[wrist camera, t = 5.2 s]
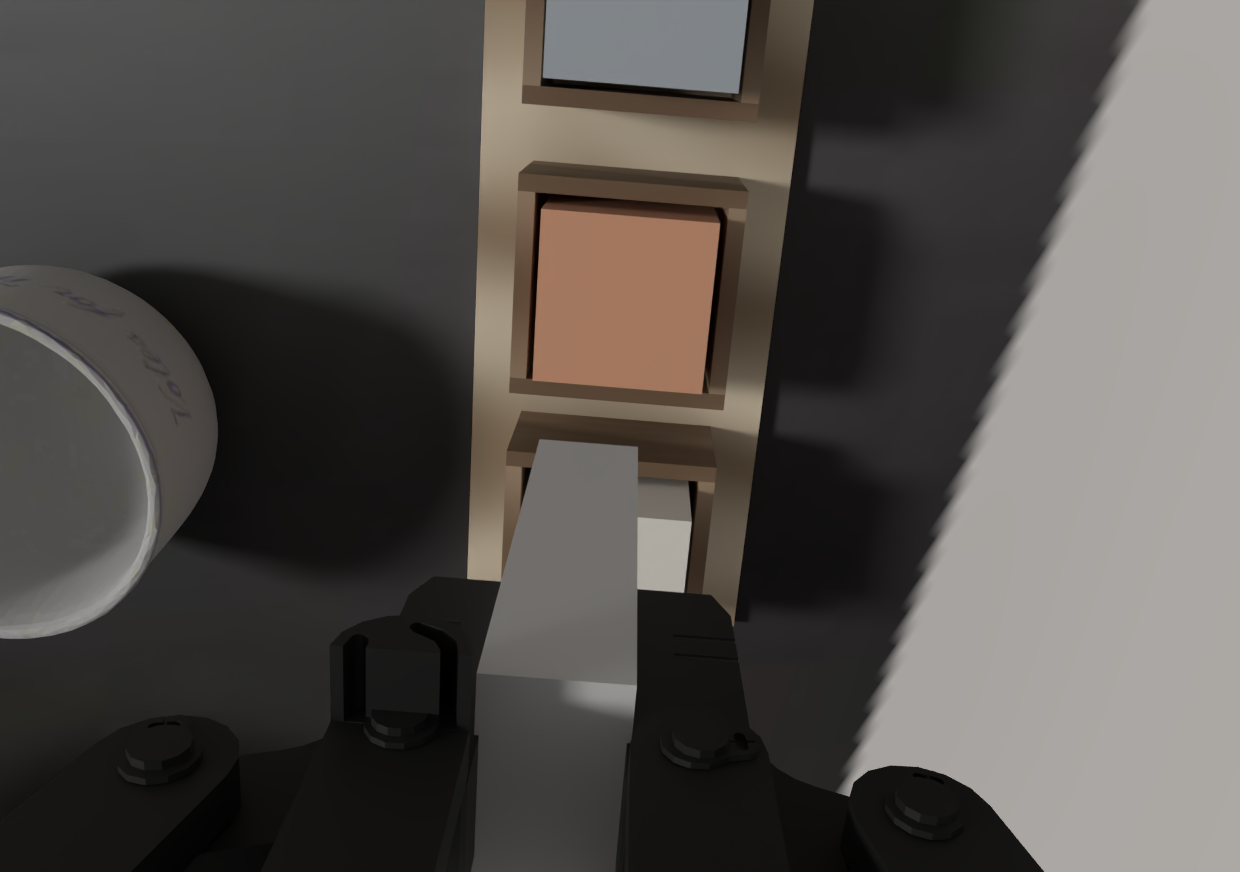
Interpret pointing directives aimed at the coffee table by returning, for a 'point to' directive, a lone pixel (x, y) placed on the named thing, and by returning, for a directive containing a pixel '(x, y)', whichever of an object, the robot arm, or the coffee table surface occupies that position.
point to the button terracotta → (624, 293)
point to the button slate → (647, 42)
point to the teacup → (90, 445)
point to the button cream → (663, 534)
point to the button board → (644, 171)
